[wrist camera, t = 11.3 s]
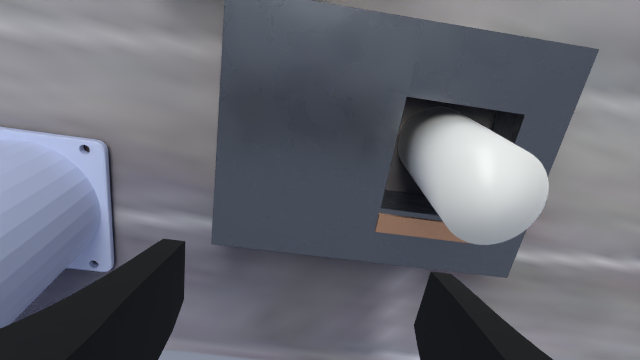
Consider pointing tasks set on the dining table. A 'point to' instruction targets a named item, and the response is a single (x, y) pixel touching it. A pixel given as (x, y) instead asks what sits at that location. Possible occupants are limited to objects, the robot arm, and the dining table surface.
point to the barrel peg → (472, 175)
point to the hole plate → (367, 126)
